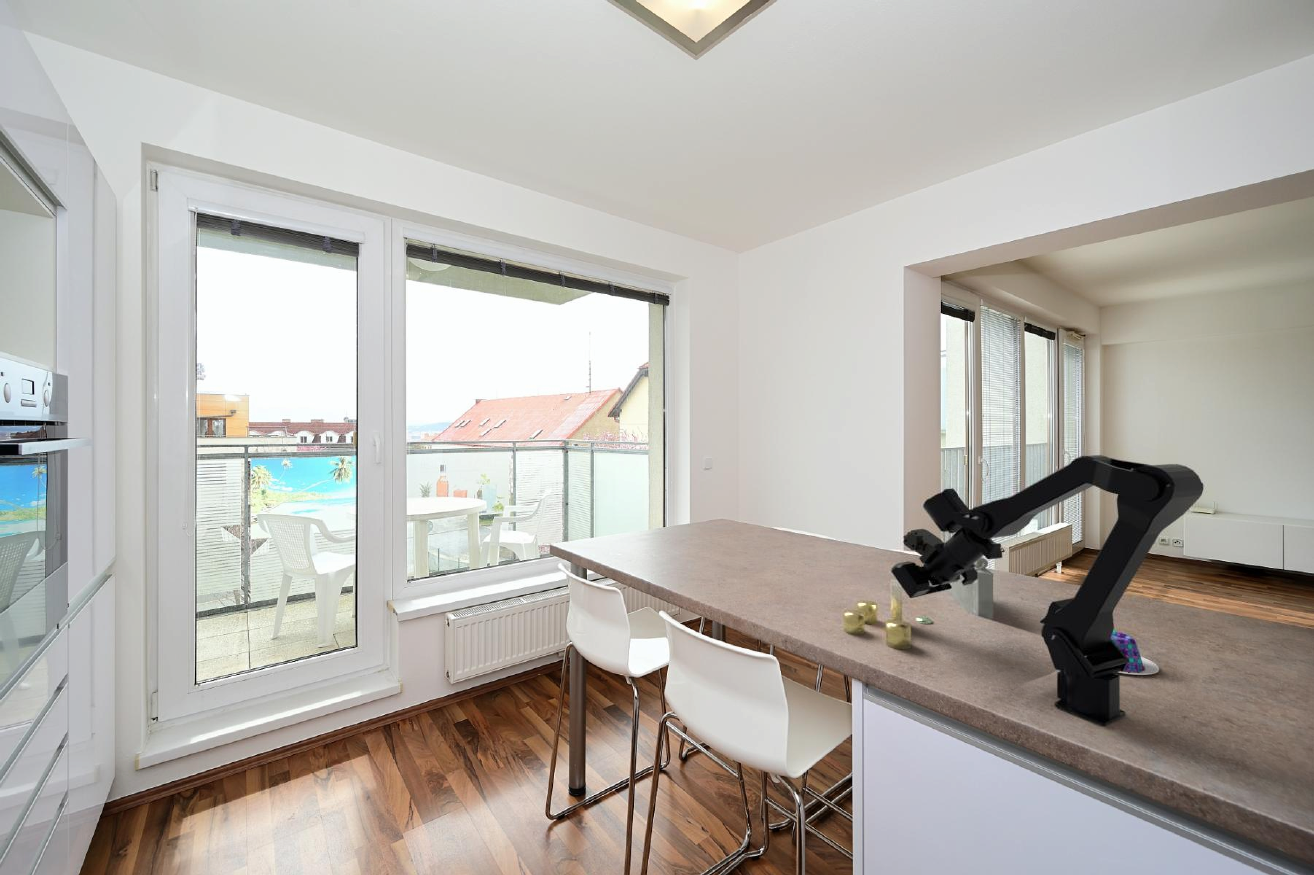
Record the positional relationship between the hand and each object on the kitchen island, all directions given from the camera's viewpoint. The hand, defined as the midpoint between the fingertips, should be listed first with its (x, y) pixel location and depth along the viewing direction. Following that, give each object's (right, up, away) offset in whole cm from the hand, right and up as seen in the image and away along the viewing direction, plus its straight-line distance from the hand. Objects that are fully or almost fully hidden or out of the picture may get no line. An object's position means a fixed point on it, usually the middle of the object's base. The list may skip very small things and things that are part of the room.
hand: (909, 595), depth 110 cm
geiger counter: (+22, -8, +19) cm, 30 cm away
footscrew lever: (-4, -7, -3) cm, 8 cm away
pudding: (+30, -8, -13) cm, 34 cm away
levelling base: (-2, -8, -3) cm, 9 cm away
